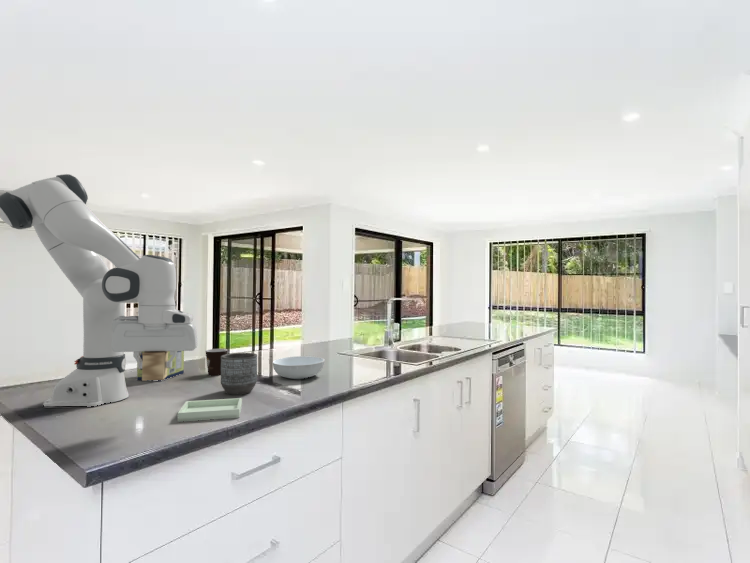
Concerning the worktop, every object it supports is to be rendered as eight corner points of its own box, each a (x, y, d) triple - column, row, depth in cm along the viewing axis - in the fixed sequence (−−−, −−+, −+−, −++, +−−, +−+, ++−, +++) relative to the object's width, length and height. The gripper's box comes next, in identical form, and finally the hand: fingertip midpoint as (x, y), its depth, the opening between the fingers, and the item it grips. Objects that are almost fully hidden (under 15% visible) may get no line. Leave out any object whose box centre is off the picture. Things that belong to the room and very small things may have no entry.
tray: (177, 421, 113) (177, 413, 113) (186, 409, 125) (186, 401, 125) (239, 417, 117) (239, 409, 117) (241, 405, 129) (242, 398, 129)
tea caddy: (141, 380, 108) (142, 353, 108) (146, 376, 113) (147, 350, 113) (163, 379, 109) (164, 352, 109) (167, 375, 114) (168, 349, 114)
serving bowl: (280, 371, 182) (280, 355, 182) (327, 372, 181) (328, 356, 181) (265, 382, 161) (265, 364, 161) (319, 383, 160) (319, 365, 160)
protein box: (136, 380, 162) (136, 340, 162) (161, 372, 177) (162, 336, 178) (161, 381, 161) (161, 341, 161) (184, 373, 176) (184, 336, 176)
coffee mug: (206, 372, 177) (206, 349, 178) (227, 371, 180) (227, 348, 180) (203, 378, 166) (203, 353, 167) (226, 377, 169) (226, 352, 169)
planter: (261, 387, 152) (261, 352, 152) (251, 396, 140) (251, 358, 140) (227, 387, 152) (228, 352, 152) (214, 396, 140) (215, 358, 140)
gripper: (108, 316, 105) (106, 371, 105) (196, 317, 111) (194, 369, 111) (116, 315, 111) (114, 367, 111) (199, 315, 117) (197, 364, 117)
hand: (155, 368), depth 111 cm, fingers closed on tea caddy, 5 cm apart
